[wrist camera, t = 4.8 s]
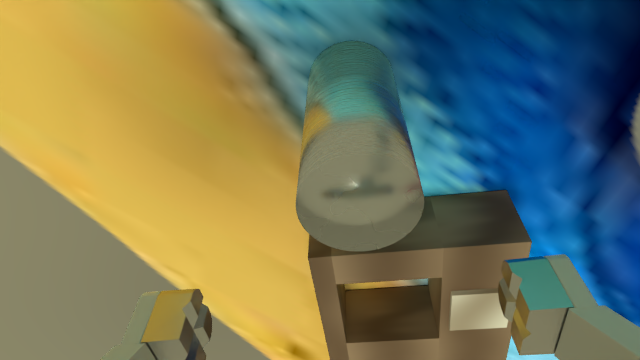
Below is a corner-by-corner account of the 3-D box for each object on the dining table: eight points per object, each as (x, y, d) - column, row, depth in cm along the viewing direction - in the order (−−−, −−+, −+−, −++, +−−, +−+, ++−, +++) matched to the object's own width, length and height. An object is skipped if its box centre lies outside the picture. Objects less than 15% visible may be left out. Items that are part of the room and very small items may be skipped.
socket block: (506, 190, 25) (533, 246, 21) (478, 370, 36) (493, 425, 33) (311, 206, 26) (307, 262, 22) (344, 376, 37) (345, 430, 34)
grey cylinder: (391, 35, 20) (424, 148, 13) (394, 114, 22) (423, 246, 15) (302, 46, 20) (285, 161, 13) (315, 123, 22) (306, 255, 15)
